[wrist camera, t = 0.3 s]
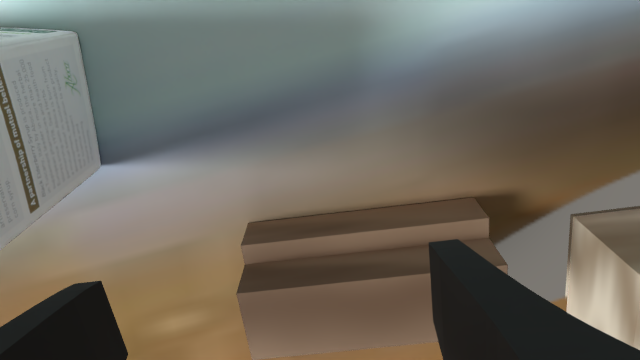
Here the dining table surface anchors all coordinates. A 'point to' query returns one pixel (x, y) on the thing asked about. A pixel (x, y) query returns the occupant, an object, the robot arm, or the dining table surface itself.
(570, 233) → the metal bar
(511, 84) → the dining table surface
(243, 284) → the walnut ridge
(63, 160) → the syrup box
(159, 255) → the dining table surface
